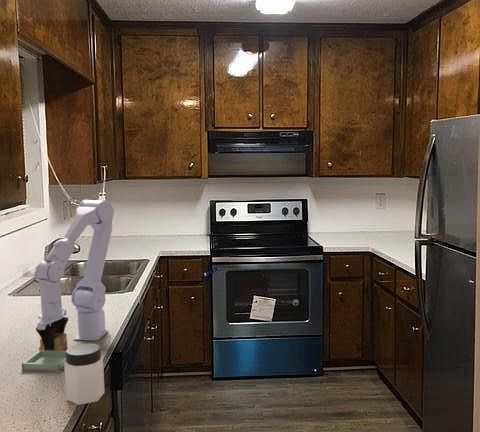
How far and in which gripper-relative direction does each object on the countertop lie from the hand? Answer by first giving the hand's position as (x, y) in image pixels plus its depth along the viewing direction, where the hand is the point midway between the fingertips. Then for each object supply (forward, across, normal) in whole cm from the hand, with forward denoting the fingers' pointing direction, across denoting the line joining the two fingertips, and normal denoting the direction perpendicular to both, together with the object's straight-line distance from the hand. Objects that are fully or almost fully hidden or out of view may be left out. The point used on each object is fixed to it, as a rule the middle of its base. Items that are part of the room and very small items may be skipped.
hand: (53, 345), depth 161 cm
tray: (+2, +10, +4) cm, 11 cm away
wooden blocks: (+2, 0, 0) cm, 2 cm away
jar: (+2, +29, +22) cm, 36 cm away
